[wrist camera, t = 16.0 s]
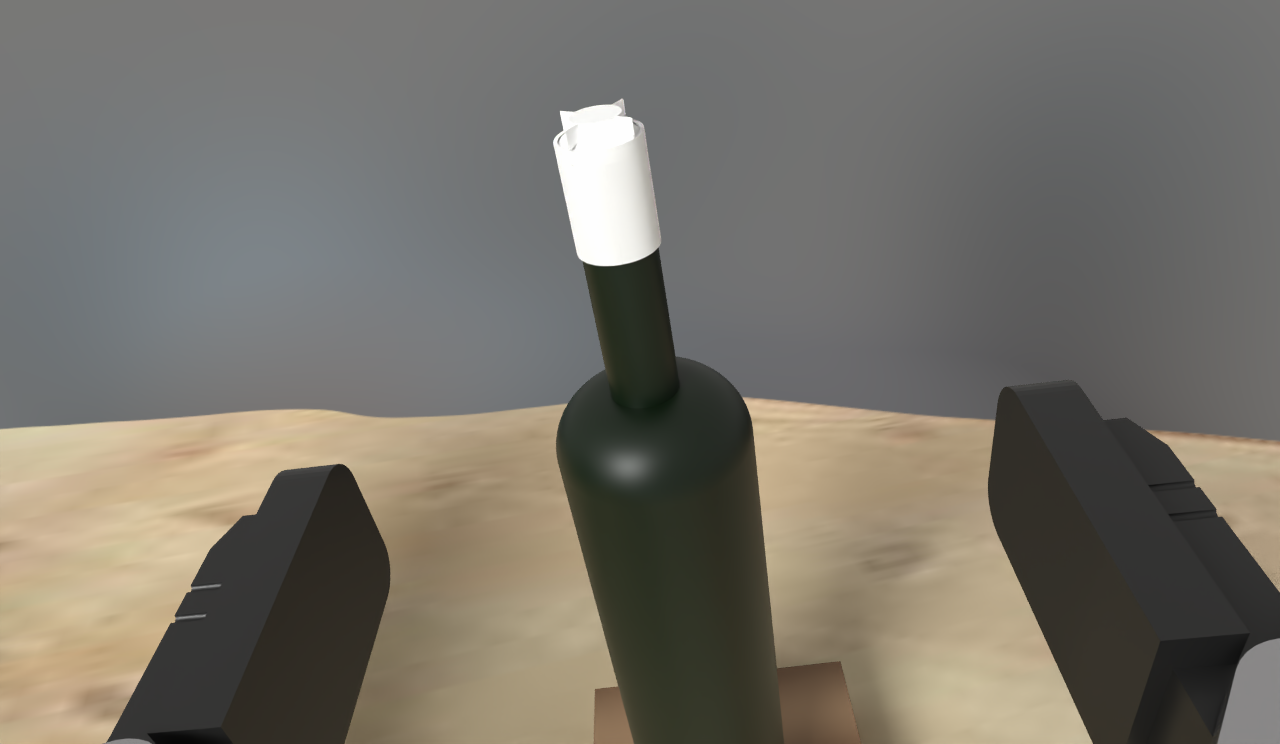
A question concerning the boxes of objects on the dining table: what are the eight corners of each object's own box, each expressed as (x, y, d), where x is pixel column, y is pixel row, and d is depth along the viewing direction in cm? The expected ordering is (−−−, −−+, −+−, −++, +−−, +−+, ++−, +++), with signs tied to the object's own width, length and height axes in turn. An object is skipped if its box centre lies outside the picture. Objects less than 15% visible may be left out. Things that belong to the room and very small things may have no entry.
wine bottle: (814, 785, 37) (766, 79, 20) (745, 908, 33) (617, 177, 17) (701, 723, 40) (578, 69, 23) (628, 829, 37) (420, 149, 20)
